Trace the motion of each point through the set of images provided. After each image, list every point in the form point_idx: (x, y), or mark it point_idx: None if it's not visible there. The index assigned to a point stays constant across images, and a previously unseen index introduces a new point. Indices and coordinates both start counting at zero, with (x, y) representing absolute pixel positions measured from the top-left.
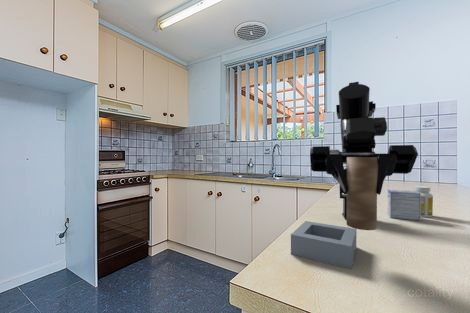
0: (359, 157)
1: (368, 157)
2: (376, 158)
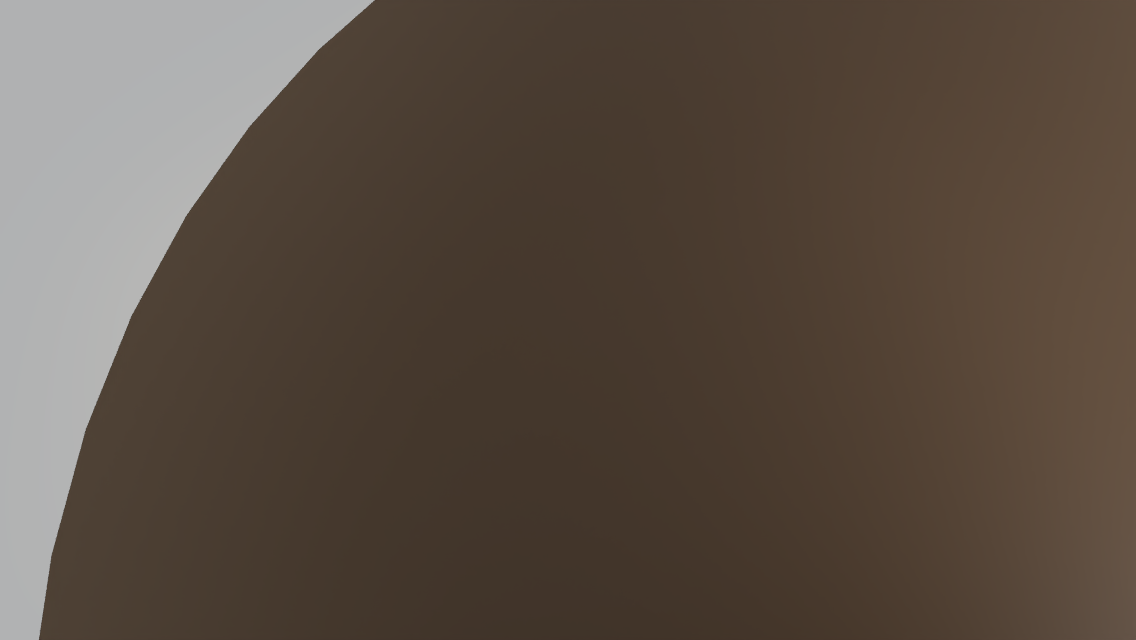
0: (1047, 90)
1: (562, 272)
2: (148, 356)
